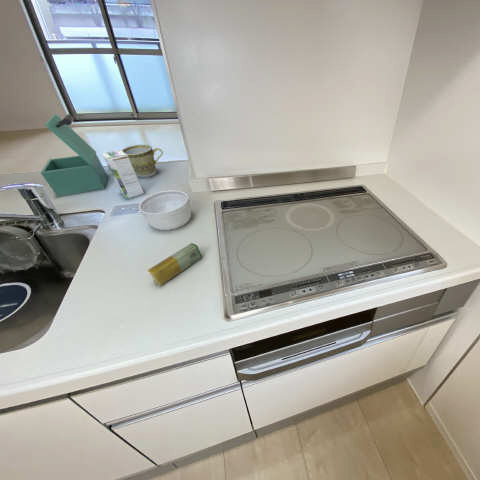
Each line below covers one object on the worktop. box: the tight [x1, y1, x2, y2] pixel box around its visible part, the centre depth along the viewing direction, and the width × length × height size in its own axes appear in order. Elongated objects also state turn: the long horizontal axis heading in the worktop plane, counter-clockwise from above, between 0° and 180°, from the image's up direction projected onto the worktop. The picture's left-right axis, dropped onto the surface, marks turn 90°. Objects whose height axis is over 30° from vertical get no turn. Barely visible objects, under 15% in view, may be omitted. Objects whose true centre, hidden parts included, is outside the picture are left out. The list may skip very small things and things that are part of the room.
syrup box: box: [102, 149, 145, 200], centre depth 87 cm, size 6×6×14 cm
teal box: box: [40, 153, 108, 197], centre depth 92 cm, size 14×12×9 cm
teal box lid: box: [44, 113, 97, 165], centre depth 87 cm, size 14×12×5 cm
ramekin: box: [138, 189, 192, 231], centre depth 78 cm, size 13×13×7 cm
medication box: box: [147, 242, 203, 286], centre depth 64 cm, size 12×3×4 cm, turn 149°
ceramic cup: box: [121, 144, 164, 178], centre depth 101 cm, size 13×10×10 cm
